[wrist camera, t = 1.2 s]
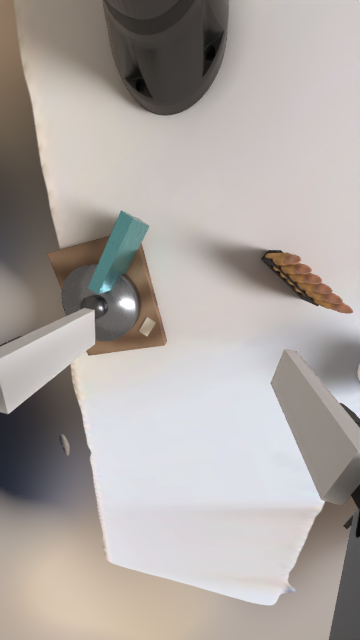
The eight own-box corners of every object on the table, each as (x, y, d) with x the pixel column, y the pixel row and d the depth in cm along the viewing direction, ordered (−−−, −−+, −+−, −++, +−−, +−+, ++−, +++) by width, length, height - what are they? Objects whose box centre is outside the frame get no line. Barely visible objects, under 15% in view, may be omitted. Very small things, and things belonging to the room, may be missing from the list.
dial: (121, 347, 39) (104, 365, 33) (63, 310, 39) (33, 321, 32) (180, 247, 31) (172, 245, 25) (108, 197, 30) (80, 182, 24)
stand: (55, 253, 38) (46, 253, 36) (138, 230, 34) (133, 228, 32) (93, 351, 44) (87, 356, 42) (166, 341, 40) (164, 345, 38)
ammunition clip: (260, 258, 32) (287, 261, 21) (269, 249, 32) (301, 247, 20) (303, 299, 33) (349, 322, 22) (312, 292, 33) (365, 311, 22)
